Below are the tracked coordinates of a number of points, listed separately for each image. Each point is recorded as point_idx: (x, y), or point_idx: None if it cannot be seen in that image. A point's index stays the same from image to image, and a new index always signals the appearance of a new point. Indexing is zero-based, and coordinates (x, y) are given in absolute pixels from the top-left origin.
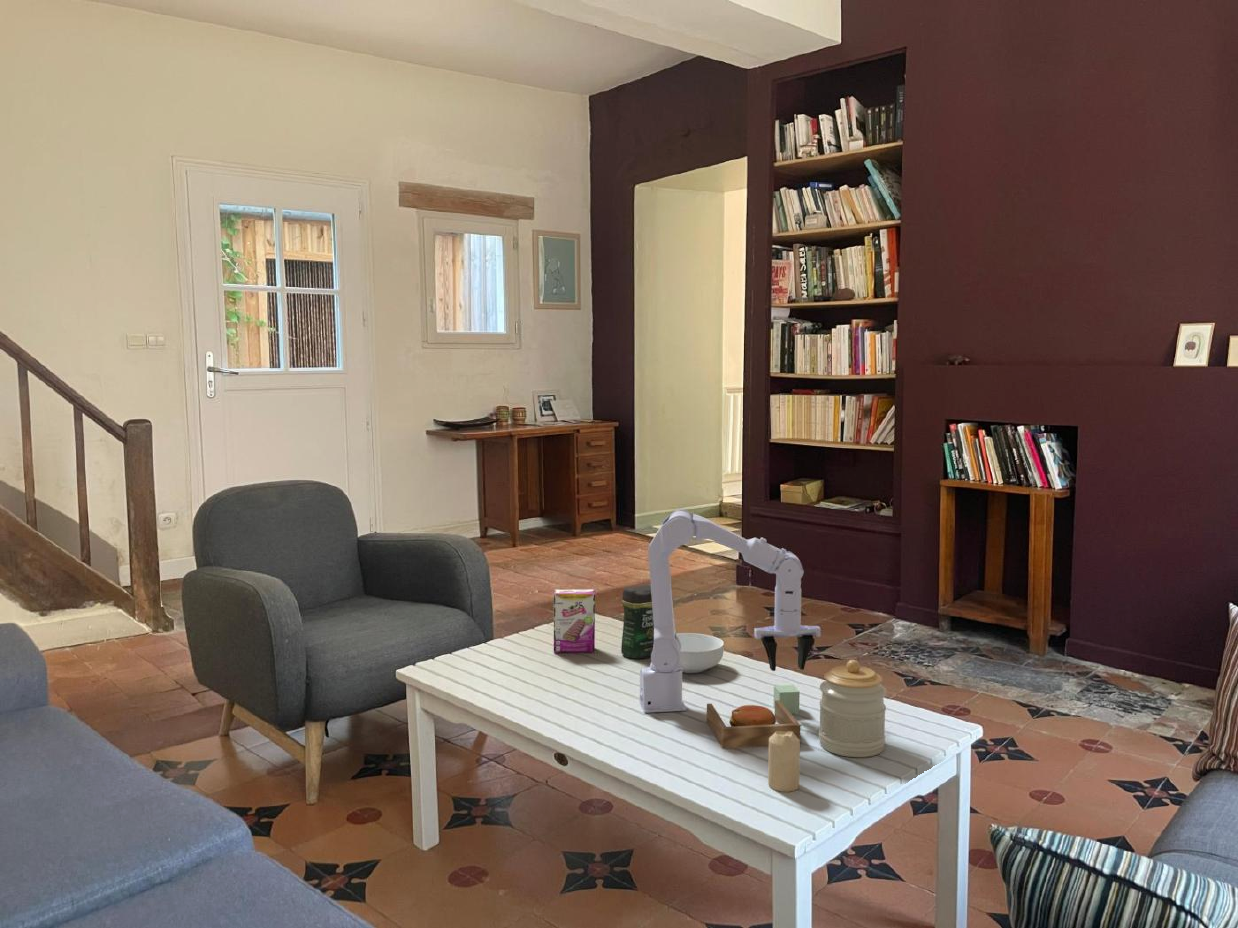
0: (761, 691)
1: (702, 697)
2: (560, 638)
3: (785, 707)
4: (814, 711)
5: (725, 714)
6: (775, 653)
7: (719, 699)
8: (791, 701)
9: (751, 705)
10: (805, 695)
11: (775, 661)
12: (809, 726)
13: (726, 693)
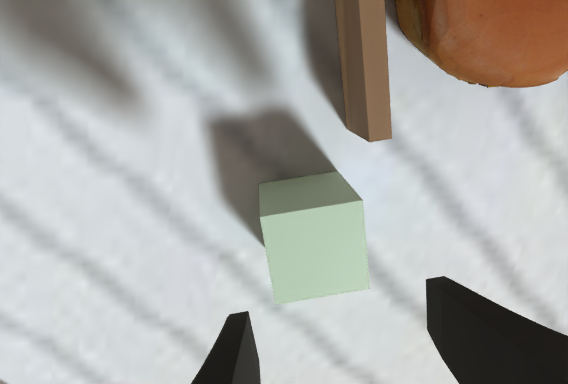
0: (356, 375)
1: (561, 312)
2: None
3: (360, 32)
4: (195, 205)
5: (536, 161)
6: (530, 353)
7: (512, 299)
8: (295, 193)
9: (538, 34)
10: None
11: (471, 309)
12: (236, 34)
13: None
